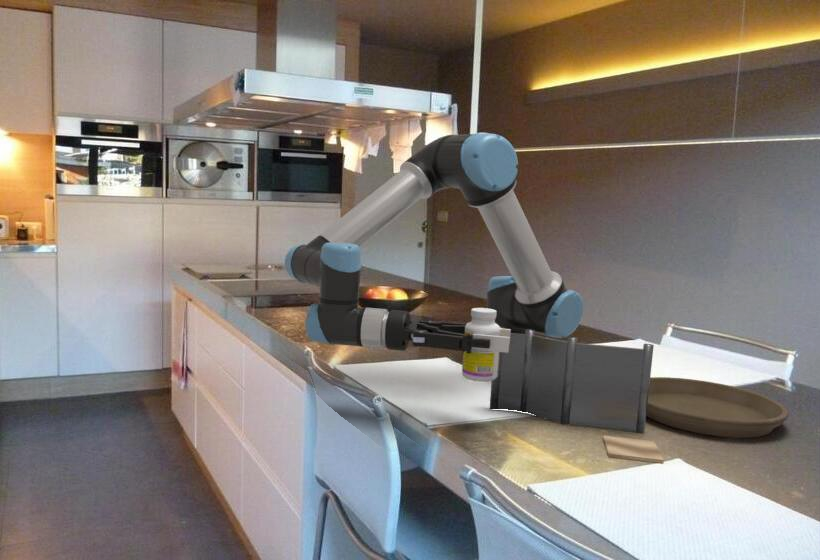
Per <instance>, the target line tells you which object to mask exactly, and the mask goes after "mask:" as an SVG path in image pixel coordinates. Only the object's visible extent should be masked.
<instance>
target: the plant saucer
mask: <svg viewBox="0 0 820 560" xmlns="http://www.w3.org/2000/svg"><path fill="white" fill-rule="evenodd" d="M647 417H648V418H649V419H651V420H652V421H656V422H658V423H660V424H662V425H666V426H668V427H671V428H676V429H679V430H682V431H685V432H691V433H695V434H700V435H707V436H714V437H720V438H721V437H722V438H723V437H724V438H731V439H733V438H736V439H737V438H738V439H745V438H746V439H747V438H748V439H749V438H750V439H751V438H758V437H759V438H760V437H763V436H766V435H768V434H770V433H771V432H772V431H773V430H774V429H776V428H777V427H780V426H781V425H782V424H784V422H785V421H786V420H787V419H788V417H789V411H788V408H787V407H785V406H784V405H783V404H782V403H781V402H778V401H777V400H774V399H773V398H770V397H769V396H766V395H763V394H762V393H761V394H760V393H757V392H754V391H751V390H748V389H744V388H741V387H738V386H733V385H728V384H724V383H718V382H714V381H713V382H712V381H707V380H698V379H692V378H691V379H690V378H682V377H665V376H663V377H662V376H661V377H660V376H659V377H658V376H657V377H656V376H655V377H650V385H649V394H648V403H647V413H646V418H647Z"/></svg>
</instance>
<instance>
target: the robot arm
mask: <svg viewBox="0 0 820 560" xmlns="http://www.w3.org/2000/svg"><path fill="white" fill-rule="evenodd" d="M518 160H519V159H518V156H517V153H516V150H515V148H514V146H513V144H511V143H510V141H509V140H508V139H506V138H505V137H504V136H502V135H499V134H496V133H489V132H476V133H468V134H464V133H463V134H447V135H443V136H441V137H438V138H437V139H435V140H433V141H431V142H429V143H428V144H427V145H425V146H424V147H422V148H421V149H419V150H418V151H417V152H415V153H414V154H412V155H411V156H410V157H409V158H407V159H406V160H405V161H404V162H402V163H401V164H400V166H399V171H398V172H397V173H396V174H395V175H393V176H391V178H390V179H388V180H387V181H385V182H384V183H383V184H382V185H381V186H379V187H378V188H377V189H376V190H374V191H373V192H372V193H371V194H369V195H368V196H366V197H365V198H364V199H363V200H362V201H360V202H359V203H358V204H357V205H356V206H354V207H353V208H351V209H350V210H348V212H346V213H345V214H344V215H343V216H341V217H340V218H339V219H337V220H336V221H335V222H334V223H333V224H332V225H330V226H329V227H328V228H326V229H325V230H323V231H322V232H321V233H320V234H319V235H317V236H316V237H315V238H314V239H312V240H311V241H310V242H308V243H307V244H305V243H304V244H298V245H295V246H293V247H292V248H290V249H289V250H288V252H287V254H286V256H285V258H284V267H285V269H286V272H287V274H288V275H289V276H290V277H292V278H293V279H294V280H296V281H298V282H300V283H303V284H307V285H312V286H315V287H316V288H317V287H318V288H319V299H318V300H319V301H318V302H317V303H311V305H310V306H309V307H308V309H307V311H306V318H305V324H304V325H305V333H306V335H307V338H308V339H309V340H310V341H311V342H314V343H316V342H317V343H323V344H328V345H332V346H333V345H338V346H340V345H341V346H353V347H362V348H363V347H364V348H368V350H369V351H374V350H375V349H384V348H385V347H386V349H387V350H389V351H401V352H404V351H406V350H407V348H408V346H409V343H410V342H412V346H413V347H415V348H416V347H421V348H422V347H423V348H424V347H425V348H433V349H439V350H441V349H442V350H450V351H459V352H462V353H463V352H465V351H467V354H470V353H471V349H475V350H485V351H496V352H507V353H508V352H509V344H510V333H518V334H526V329H532V330H535V334H536V333H537V334H539V335H543V336H547V337H548V338H555V339H556V338H557V339H564V338H566V337H567V338H568V337H570V335H572V334H573V333H574V332H575V331H576V329H577V328H578V327H579V325H580V323H581V320H582V317H583V315H584V313H583V312H584V301H583V298H582V296H581V294H580V293H579V292H577V291H575V290H573V289H568V288H567V287H566V285H565V282H564V280H563V279H562V277H561V275H560V274H559V273H558V272H556V271H552V270H551V268H550V266H549V264H548V262H547V260H546V257H545V256H544V253H543V251H542V249H541V247H540V244H539V243H538V242H539V241H538V240H537V239H536V235H535V233H534V232H533V229H532V227H531V224H529V221H528V219H527V217H526V215H525V213H524V211H523V209H522V207H521V204H520V202H519V200H518V198H517V196H516V194H515V191H514V189H515V187H516V185H517V178H516V176H517V175H518V172H519V171H518V170H519V169H518V168H517V166H518V165H519V161H518ZM445 189H459V190H460V192H461V194H462V195H463V197H464V199H465V201H466V203H467V205H468V206H469V207H471V208H477V209H478V212H479V213H480V216H481V217H482V219H483V222H484V223H485V226H486V228H487V229H488V231H489V233H490V235H491V237H492V239H493V241H494V243H495V245H496V247H497V249H498V251H499V253H500V255H501V257H502V259H503V261H504V263H505V265H506V268H507V269H508V271H509V273H510V275H501V276H497V275H496V276H493V277H491V278H490V279H489V281H488V287H487V290H486V307H485V308H488V309H494V310H496V311H497V313H496V319H495V323H496V324H498V325H499V327H504V328H505V329H502V328H500V329H501V332H500V336H493V335H481V334H473V338H472V335H467V334H464V333H465V326H466V324H467V323H468V322H453V321H439V320H438V321H437V320H431V319H423V320H419V321H418V322H412V321H411V314H410V312H409V311H408V310H407V311H406V310H397V309H396V310H394V309H392V310H390V311H388V309H386V308H378V307H377V308H375V307H361V306H359V301H360V299H359V296H360V284H361V283H360V280H361V269H362V262H361V259H362V258H361V257H362V256H361V247H363V246H364V245H365V244H367V243H368V242H369V241H370V240H372V239H373V238H374V237H375V236H376V235H377V234H379V233H380V232H382V231H383V229H386V227H387V226H389V225H390V224H391V223H393V222H394V221H395V220H396V219H397V218H399V216H401V215H402V214H403V213H405V212H406V211H407V210H408V209H409V208H411V207H412V206H413V205H415V204H416V203H417V202H418V201H420V200H421V199H423V200H426V199H429V198H430V197H432V196H433V195H434V194H435V193H437V192H439V191H442V190H445Z"/></svg>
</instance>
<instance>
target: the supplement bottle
mask: <svg viewBox="0 0 820 560" xmlns="http://www.w3.org/2000/svg"><path fill="white" fill-rule="evenodd" d="M496 313H497V311H496V310H494V309H488V308H486V307H474V308H473V307H472V308H471V310H470V316H471V321H469V322H466V323H467V324H466V326H465V333H464V334H467V335H472V338H473V334H481V335H493V336H500V332H501V329H500V327H499V325H498V324H496V323H495V319H496ZM498 360H499V352H496V351H485V350H475V349H471V353H470V354H467V351H465V352H463V351H462V366H461V367H462V368H461V369H462V370H461V375H462V376H463V377H464V378H465V379H466V380H470V381H476V382H492V380H494V379H496V378H497V374H498Z"/></svg>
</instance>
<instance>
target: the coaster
mask: <svg viewBox="0 0 820 560" xmlns="http://www.w3.org/2000/svg"><path fill="white" fill-rule="evenodd" d="M602 440H604V441H603V444H604V447H605V449H606V453H608V454H607V456H608V458H616V459H624V460H629V461H630V460H631V461H632V460H633V461H639V462H640V461H641V462H648V463H655V464H656V463H659V464H664V462H665V460H664V458H663V455H662V453H661V452H660V450H659V448H658V445H657V444H656V442H655V441H654V440H647V439H636V438H630V437H629V438H628V437H620V436H619V437H618V436H610V435H609V436H608V435H603V436H602Z"/></svg>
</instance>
